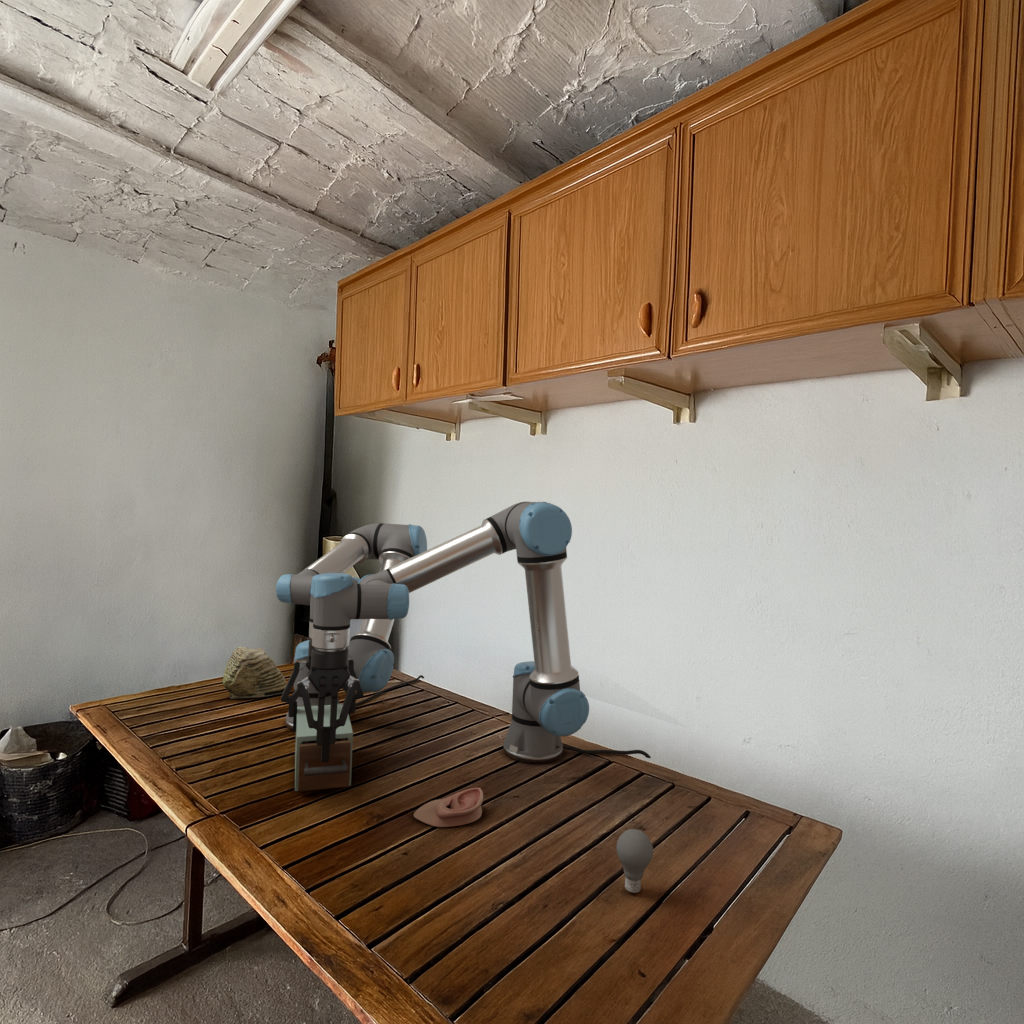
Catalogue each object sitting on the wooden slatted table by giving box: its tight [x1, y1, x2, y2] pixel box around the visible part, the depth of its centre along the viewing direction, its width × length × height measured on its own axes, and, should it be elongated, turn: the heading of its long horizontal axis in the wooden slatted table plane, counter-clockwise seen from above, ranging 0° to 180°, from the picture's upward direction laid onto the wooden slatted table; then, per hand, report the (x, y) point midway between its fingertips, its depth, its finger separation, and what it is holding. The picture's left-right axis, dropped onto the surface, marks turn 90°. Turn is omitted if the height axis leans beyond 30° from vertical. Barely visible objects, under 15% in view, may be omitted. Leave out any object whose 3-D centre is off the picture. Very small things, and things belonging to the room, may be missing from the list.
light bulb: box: [615, 828, 654, 894], centre depth 106 cm, size 6×6×10 cm
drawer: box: [297, 738, 351, 793], centre depth 141 cm, size 24×10×10 cm, turn 19°
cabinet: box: [294, 703, 354, 792], centre depth 147 cm, size 20×12×12 cm, turn 19°
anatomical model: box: [413, 787, 484, 828], centre depth 129 cm, size 13×4×12 cm
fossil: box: [222, 646, 287, 699], centre depth 198 cm, size 9×18×15 cm, turn 132°
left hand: (321, 728), depth 153 cm, fingers closed on cabinet, 12 cm apart
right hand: (324, 759), depth 133 cm, fingers closed
